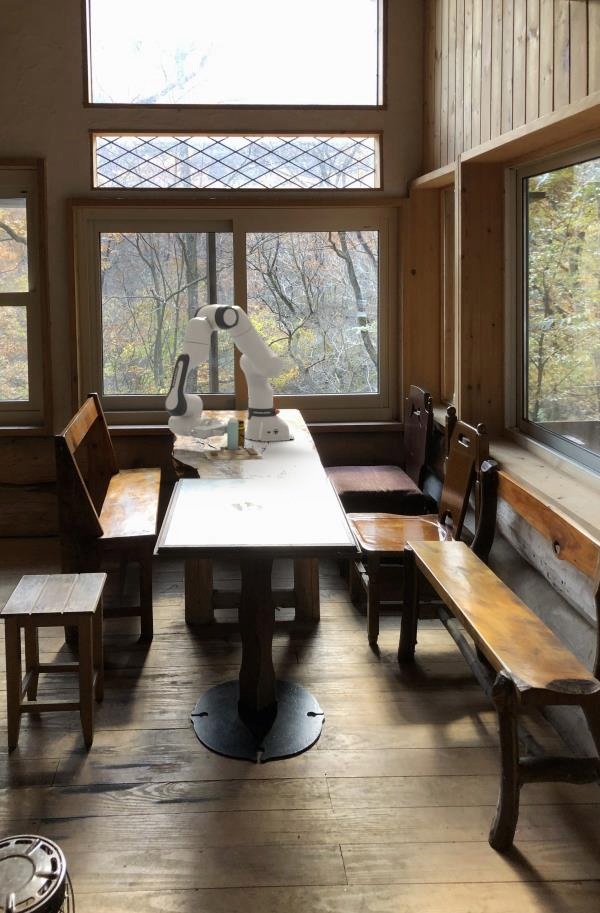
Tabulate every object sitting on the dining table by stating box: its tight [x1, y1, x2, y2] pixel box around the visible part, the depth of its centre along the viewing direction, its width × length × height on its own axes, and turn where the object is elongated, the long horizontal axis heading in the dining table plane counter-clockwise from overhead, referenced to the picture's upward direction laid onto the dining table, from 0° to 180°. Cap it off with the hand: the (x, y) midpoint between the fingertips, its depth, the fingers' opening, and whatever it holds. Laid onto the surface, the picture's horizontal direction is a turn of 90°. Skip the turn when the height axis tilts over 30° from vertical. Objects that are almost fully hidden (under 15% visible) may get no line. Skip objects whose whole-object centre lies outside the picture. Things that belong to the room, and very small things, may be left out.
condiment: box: [237, 419, 246, 450], centre depth 392 cm, size 7×8×12 cm
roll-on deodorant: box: [226, 417, 238, 450], centre depth 375 cm, size 4×4×15 cm
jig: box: [203, 446, 263, 460], centre depth 376 cm, size 22×13×3 cm, turn 104°
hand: (229, 432), depth 376 cm, fingers open, 8 cm apart
